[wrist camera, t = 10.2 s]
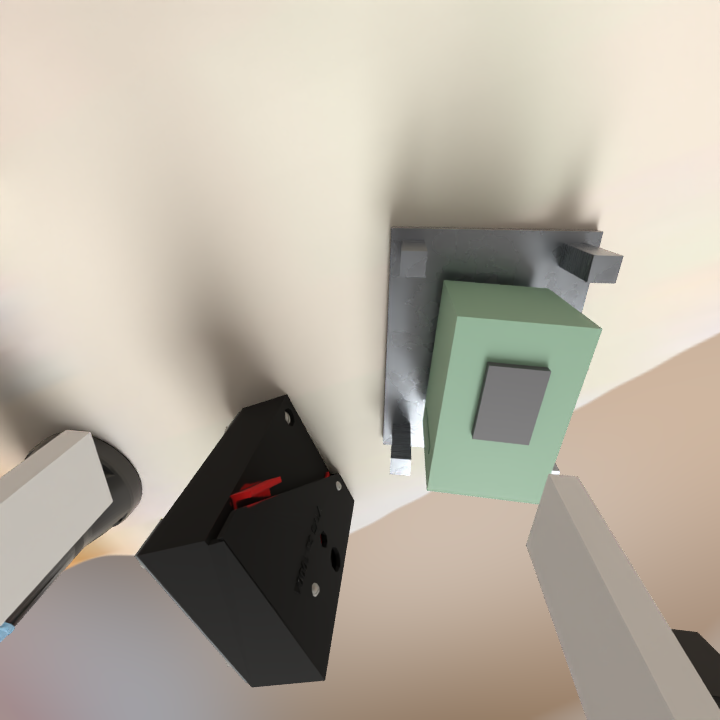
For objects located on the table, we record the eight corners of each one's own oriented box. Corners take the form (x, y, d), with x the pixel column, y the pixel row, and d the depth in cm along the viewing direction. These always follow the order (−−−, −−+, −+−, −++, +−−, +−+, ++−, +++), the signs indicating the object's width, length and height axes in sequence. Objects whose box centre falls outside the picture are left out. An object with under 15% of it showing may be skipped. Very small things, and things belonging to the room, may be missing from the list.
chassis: (383, 438, 45) (379, 480, 39) (391, 226, 35) (388, 236, 29) (540, 450, 43) (563, 496, 37) (598, 230, 33) (642, 241, 27)
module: (421, 420, 40) (426, 495, 30) (442, 279, 33) (456, 319, 24) (510, 430, 39) (543, 510, 30) (549, 288, 33) (608, 332, 23)
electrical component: (227, 412, 46) (113, 560, 28) (301, 389, 44) (227, 535, 26) (291, 515, 52) (231, 689, 34) (359, 500, 50) (332, 679, 32)
